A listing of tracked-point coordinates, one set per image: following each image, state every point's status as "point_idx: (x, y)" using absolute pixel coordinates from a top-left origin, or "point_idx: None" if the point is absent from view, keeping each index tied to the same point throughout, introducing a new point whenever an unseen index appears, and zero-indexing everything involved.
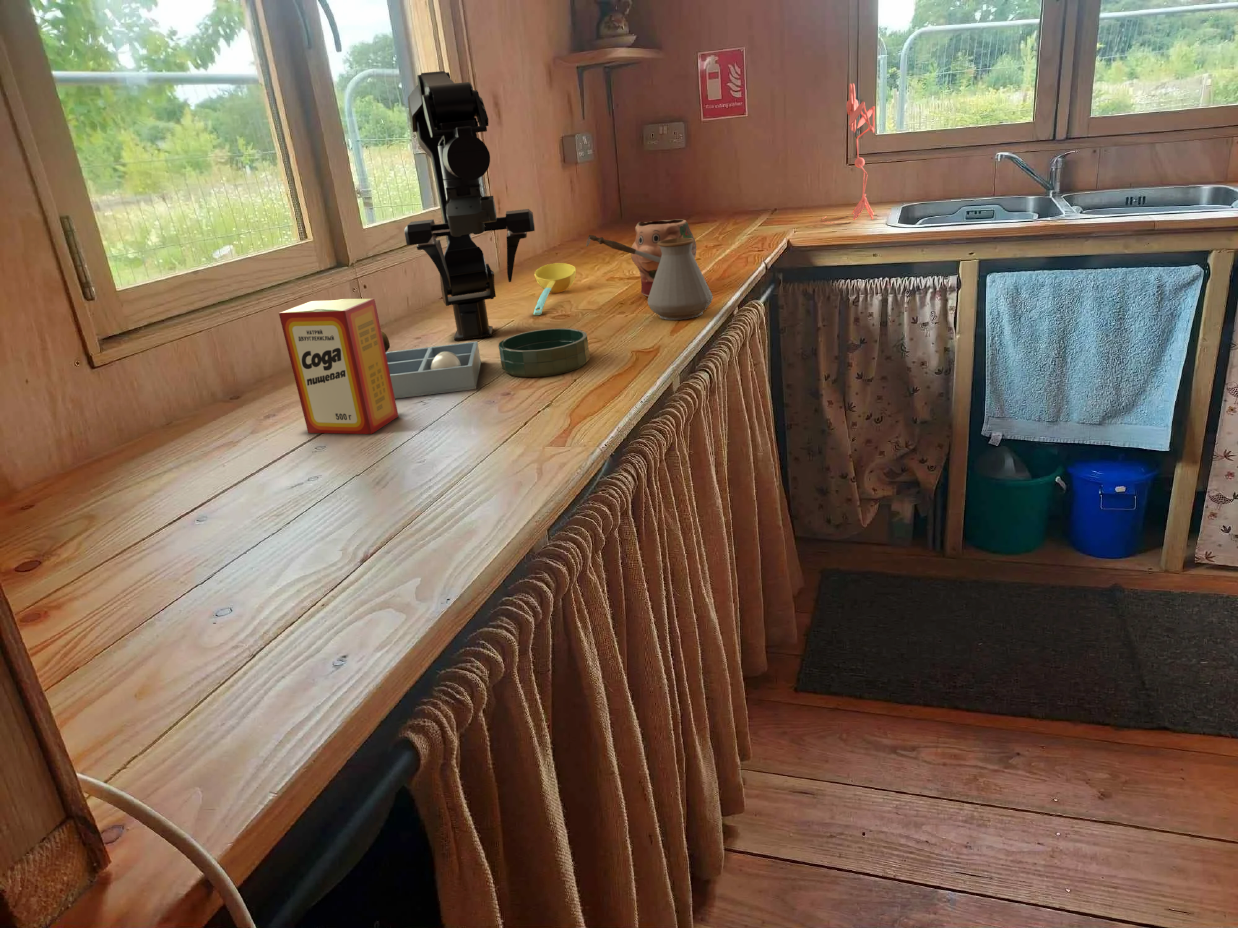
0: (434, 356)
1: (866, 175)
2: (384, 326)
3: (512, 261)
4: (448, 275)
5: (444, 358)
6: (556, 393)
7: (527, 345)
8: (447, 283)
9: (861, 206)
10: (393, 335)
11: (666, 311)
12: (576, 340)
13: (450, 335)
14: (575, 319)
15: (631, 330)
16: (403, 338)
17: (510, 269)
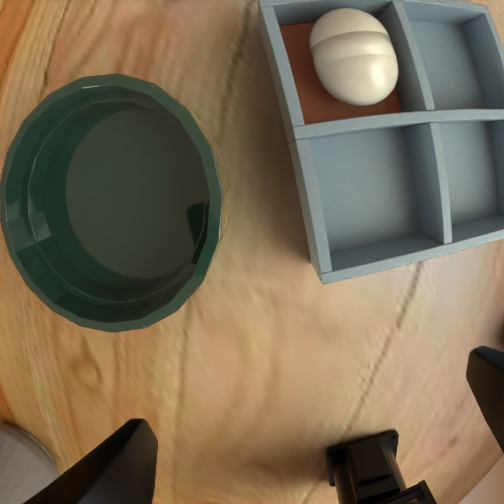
0: (430, 238)
1: None
2: (481, 476)
3: (56, 483)
4: (499, 414)
5: (349, 12)
6: (74, 4)
7: (171, 281)
8: (495, 355)
9: None
10: (480, 449)
11: (17, 434)
12: (52, 279)
13: (403, 457)
14: (184, 497)
15: (52, 410)
16: (471, 439)
17: (97, 458)
